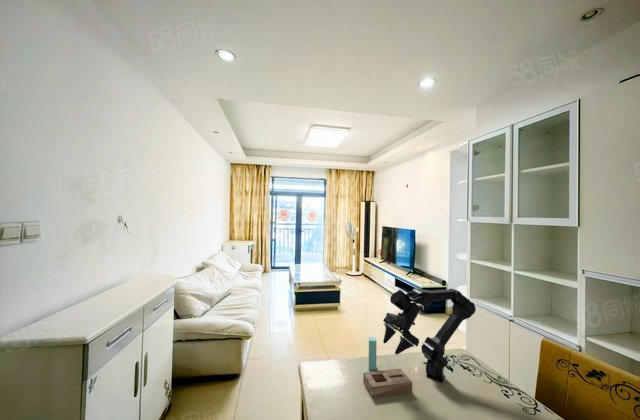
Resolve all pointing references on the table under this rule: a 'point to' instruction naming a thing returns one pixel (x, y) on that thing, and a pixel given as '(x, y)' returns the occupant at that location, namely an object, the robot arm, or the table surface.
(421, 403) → the table surface
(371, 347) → the teal square peg
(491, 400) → the table surface
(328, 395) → the table surface
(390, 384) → the bore block
